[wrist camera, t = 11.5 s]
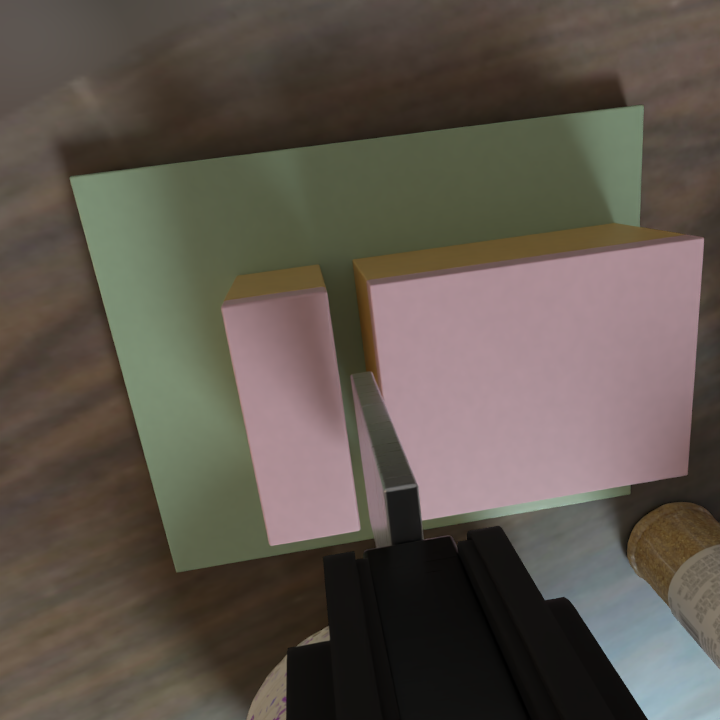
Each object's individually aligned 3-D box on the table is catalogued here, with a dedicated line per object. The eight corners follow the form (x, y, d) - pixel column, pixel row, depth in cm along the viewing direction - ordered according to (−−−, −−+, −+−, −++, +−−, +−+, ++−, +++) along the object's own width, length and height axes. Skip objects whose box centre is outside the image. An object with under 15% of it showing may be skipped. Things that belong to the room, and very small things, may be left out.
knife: (331, 376, 15) (443, 956, 4) (390, 367, 15) (665, 904, 4) (352, 521, 17) (479, 1252, 5) (406, 512, 17) (643, 1210, 5)
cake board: (78, 176, 20) (68, 176, 19) (629, 107, 21) (644, 104, 20) (180, 558, 25) (176, 573, 24) (618, 483, 27) (631, 494, 26)
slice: (236, 275, 21) (219, 306, 16) (319, 263, 21) (327, 290, 16) (273, 471, 23) (269, 547, 19) (347, 459, 23) (361, 531, 19)
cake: (352, 259, 21) (369, 284, 16) (615, 222, 22) (705, 236, 17) (376, 454, 24) (397, 525, 19) (611, 416, 24) (688, 475, 20)
